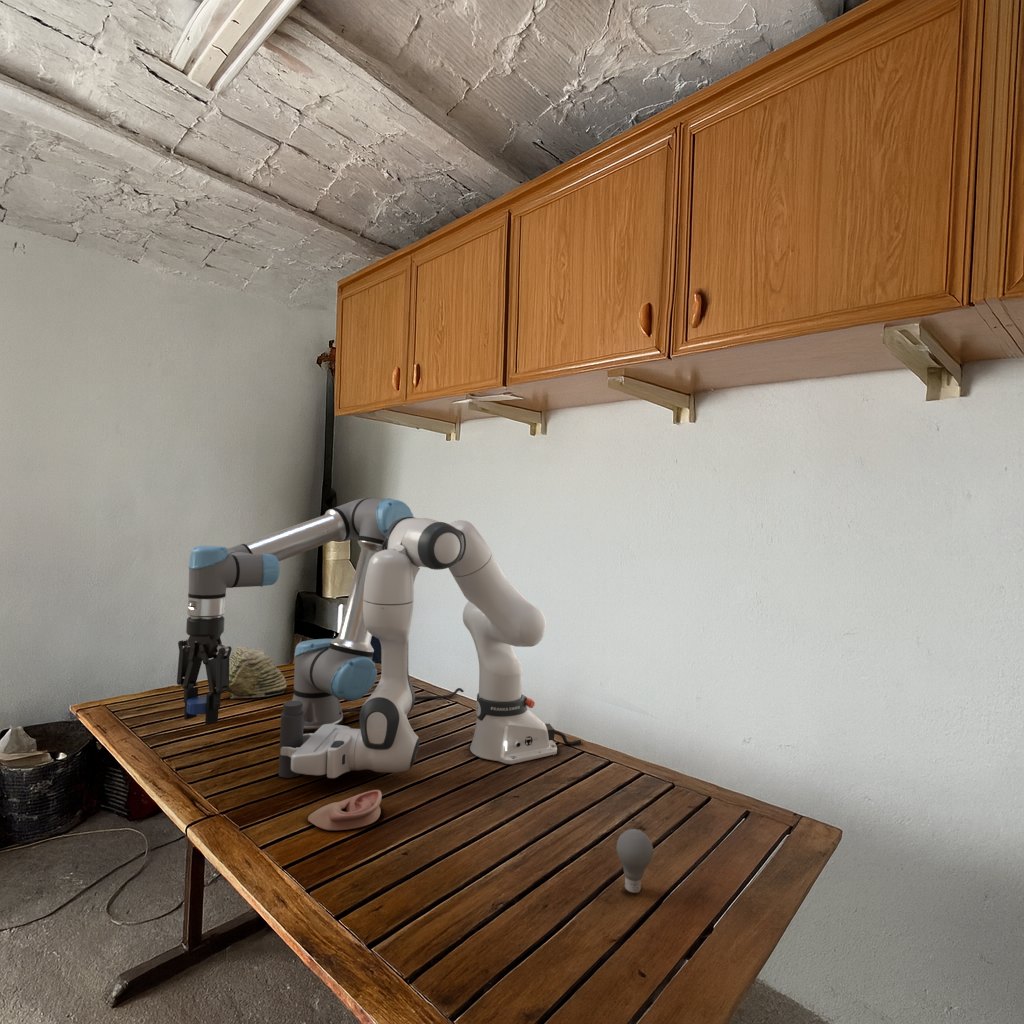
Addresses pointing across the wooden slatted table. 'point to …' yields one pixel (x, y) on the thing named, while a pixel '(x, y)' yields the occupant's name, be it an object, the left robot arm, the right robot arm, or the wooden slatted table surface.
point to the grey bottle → (290, 734)
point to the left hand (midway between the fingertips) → (200, 720)
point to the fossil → (254, 674)
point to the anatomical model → (349, 812)
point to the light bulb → (634, 857)
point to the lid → (196, 705)
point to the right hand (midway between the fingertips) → (287, 744)
